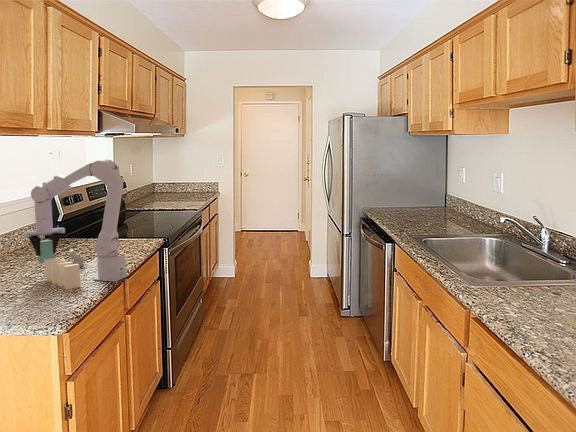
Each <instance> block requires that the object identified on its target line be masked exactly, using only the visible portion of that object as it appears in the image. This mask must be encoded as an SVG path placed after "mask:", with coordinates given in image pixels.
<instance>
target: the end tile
mask: <svg viewBox="0 0 576 432" xmlns="http://www.w3.org/2000/svg"><path fill="white" fill-rule="evenodd" d="M40 252H41V255H40V256H37V257H38V258H37V260H38V263H39V264H45V259H52V258H55V257H54V254H55V253H54V254H53V240H50V239H45V240H41V241H40Z"/></svg>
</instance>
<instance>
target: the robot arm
mask: <svg viewBox="0 0 576 432" xmlns="http://www.w3.org/2000/svg"><path fill="white" fill-rule="evenodd" d="M87 177H95V178H96V179H98V180H99V181H101V182H102V183H103V184H104V185H105V187H107V190H106V191H107V192H106V199H105V203H104V205H105V206H104V210H103V211H104V212H103V218H102V225H101V230H100V232H99V234H98V236H97V239H96V241H95V243H94V245H93V250H94V252H95V253H96V255H97V257H96V258H97V259H96V262H97V276H96V277H95V278H93V281H103V282H118V281H120V280H122V279H124V278H126V277H127V275H126V274H127V273H126V259H125V257H124V256H122V255H119V254H118V249H119V247H120V240H119V232H118V230H117V229H118V222H119V217H120V209H121V203H122V196H123V189H124V182H123V179H122V176H121V173H120V168H119V166H118V165H117V164H116V163H115V161H113V160H111V159H104V160H101V159H100V160H98V159H97V160H95V161H93V162H89V163H87V164H85V165H83V166H81V167H80V168H78V169H76V170H75V171H73V172H71V173H69V174H68V175H66V176H63V175H55V176H53V179H51V180H49V181H47V182H46V181H44V182H42V183H41V184H42V185H37V186H36V185H35V186H34V187H33V188H32V190H31V192H30V196H31V199H32V200H33V202H34V217H35V229H34V230H28V231H23V238H24V239H25V238H26V239H27V238H28V239H29V242H30V243H31V244H32V246H33V248H34V252H35V255H36V256H37V257H38V256H40V255H41V252H40V241H42V238H41V236H42V237H43V236H48V237H49V240H53V254H56V252H57V246H58V243H59V241H60V239H61V237H62V235H61V234H65V233H66V228H65V227H54V224H53V222H54V221H53V207H52V206H53V205H52V200H53V199H54V197H56V196H58V195H60V194H62V193H64V192H65V191H68V190H69V189H70V186H71V184H73V183H77V182H78V181H80V180H83V179H84V178H87Z"/></svg>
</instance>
